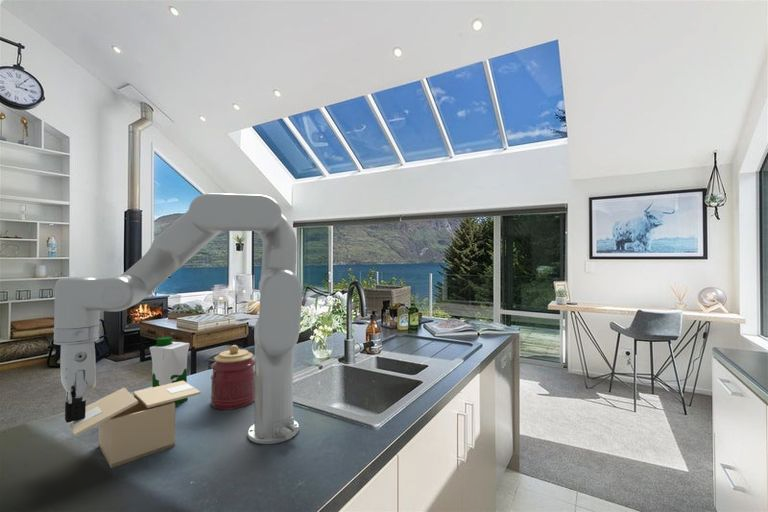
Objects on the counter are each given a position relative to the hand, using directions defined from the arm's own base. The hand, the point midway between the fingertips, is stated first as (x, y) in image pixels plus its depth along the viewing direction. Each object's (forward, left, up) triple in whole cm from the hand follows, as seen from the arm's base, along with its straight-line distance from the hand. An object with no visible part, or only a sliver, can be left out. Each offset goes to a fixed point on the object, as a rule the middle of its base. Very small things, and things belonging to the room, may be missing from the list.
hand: (75, 419), depth 79 cm
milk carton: (+22, -25, -10) cm, 35 cm away
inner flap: (0, -17, 0) cm, 17 cm away
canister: (+9, -39, -10) cm, 42 cm away
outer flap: (0, -5, 0) cm, 6 cm away
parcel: (0, -11, -10) cm, 15 cm away
